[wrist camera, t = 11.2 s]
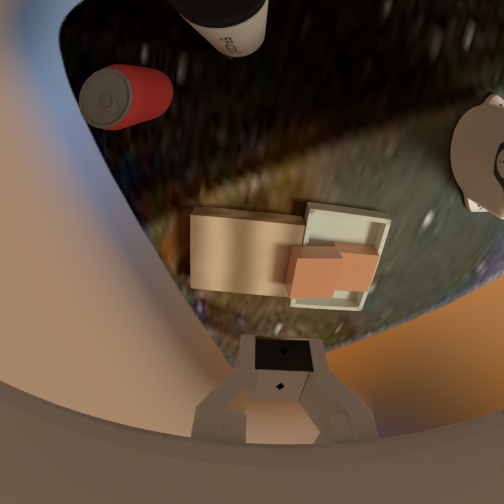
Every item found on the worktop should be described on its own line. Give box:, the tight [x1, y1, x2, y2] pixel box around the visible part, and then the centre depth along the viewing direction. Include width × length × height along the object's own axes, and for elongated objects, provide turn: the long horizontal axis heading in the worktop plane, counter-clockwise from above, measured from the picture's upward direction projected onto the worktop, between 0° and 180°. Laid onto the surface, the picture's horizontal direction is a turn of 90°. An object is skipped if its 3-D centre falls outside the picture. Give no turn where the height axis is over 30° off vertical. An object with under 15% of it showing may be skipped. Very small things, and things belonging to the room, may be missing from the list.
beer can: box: [79, 64, 173, 130], centre depth 27 cm, size 7×7×12 cm
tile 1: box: [285, 246, 343, 299], centre depth 39 cm, size 6×6×3 cm
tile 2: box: [332, 241, 380, 292], centre depth 41 cm, size 6×6×3 cm
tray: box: [289, 202, 391, 311], centre depth 41 cm, size 11×15×2 cm
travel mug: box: [167, 0, 268, 57], centre depth 20 cm, size 6×7×20 cm
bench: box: [190, 206, 305, 297], centre depth 41 cm, size 14×11×3 cm
